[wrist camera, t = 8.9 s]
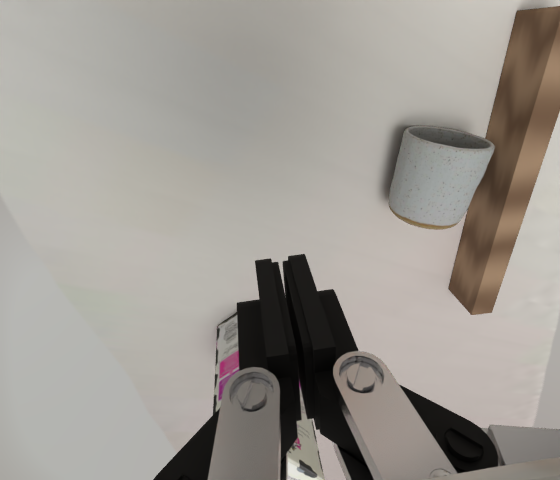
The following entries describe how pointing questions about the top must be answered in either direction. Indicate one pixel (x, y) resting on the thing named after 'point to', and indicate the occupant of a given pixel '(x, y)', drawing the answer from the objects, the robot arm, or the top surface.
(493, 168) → the walnut board
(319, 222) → the top surface
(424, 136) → the ceramic mug
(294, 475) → the candy bar box
